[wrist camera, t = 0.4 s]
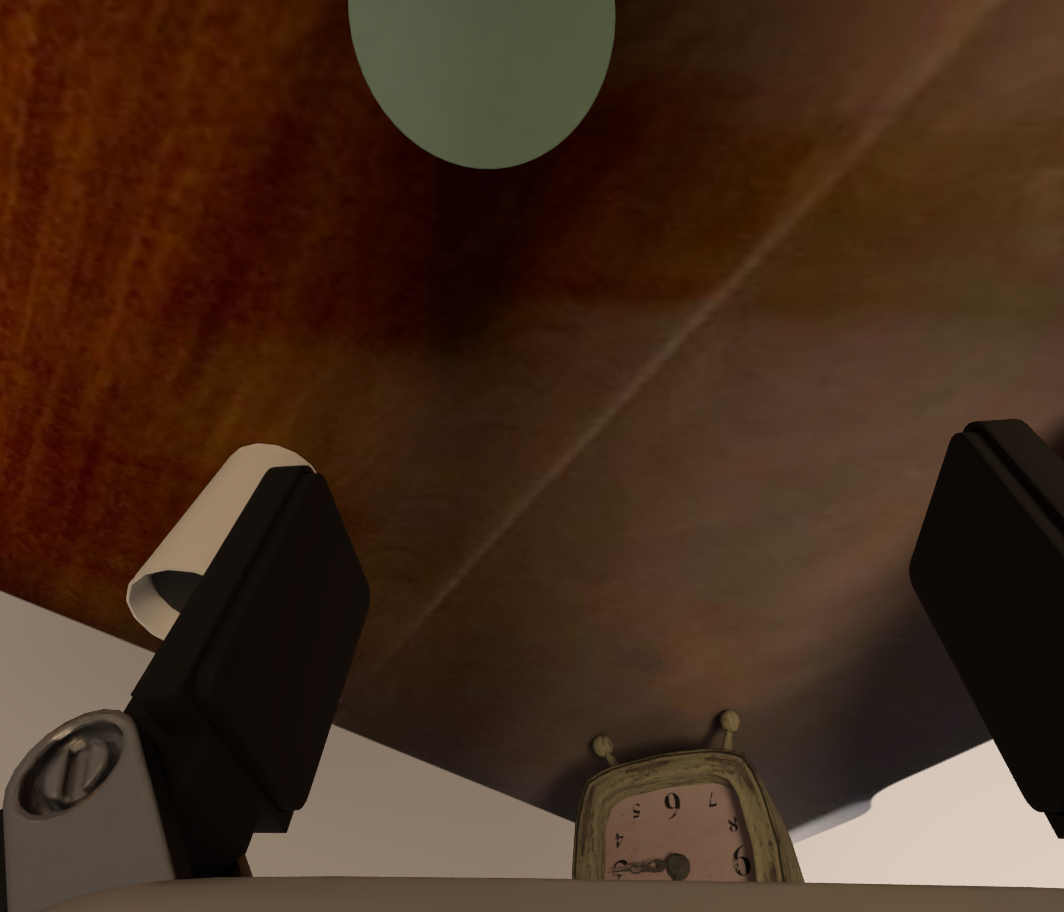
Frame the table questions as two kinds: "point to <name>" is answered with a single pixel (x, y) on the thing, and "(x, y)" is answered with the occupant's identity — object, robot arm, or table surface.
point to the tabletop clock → (682, 819)
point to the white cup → (200, 537)
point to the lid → (484, 72)
